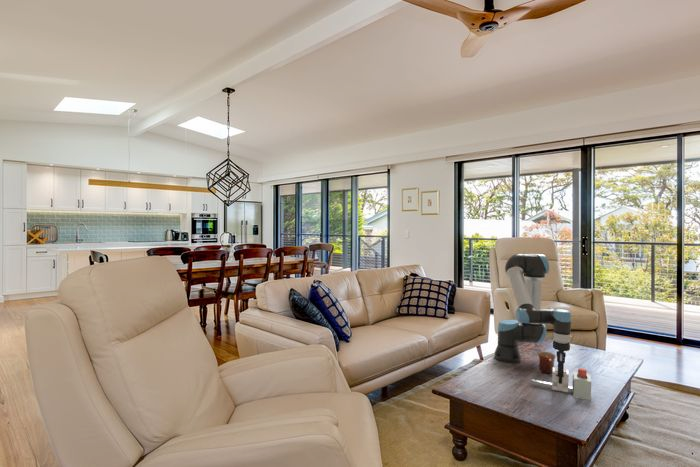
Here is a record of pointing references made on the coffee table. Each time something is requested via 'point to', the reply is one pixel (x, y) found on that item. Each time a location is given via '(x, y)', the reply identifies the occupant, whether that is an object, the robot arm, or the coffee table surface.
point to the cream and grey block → (565, 380)
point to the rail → (548, 385)
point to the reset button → (582, 372)
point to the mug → (546, 362)
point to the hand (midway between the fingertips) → (560, 386)
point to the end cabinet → (582, 386)
